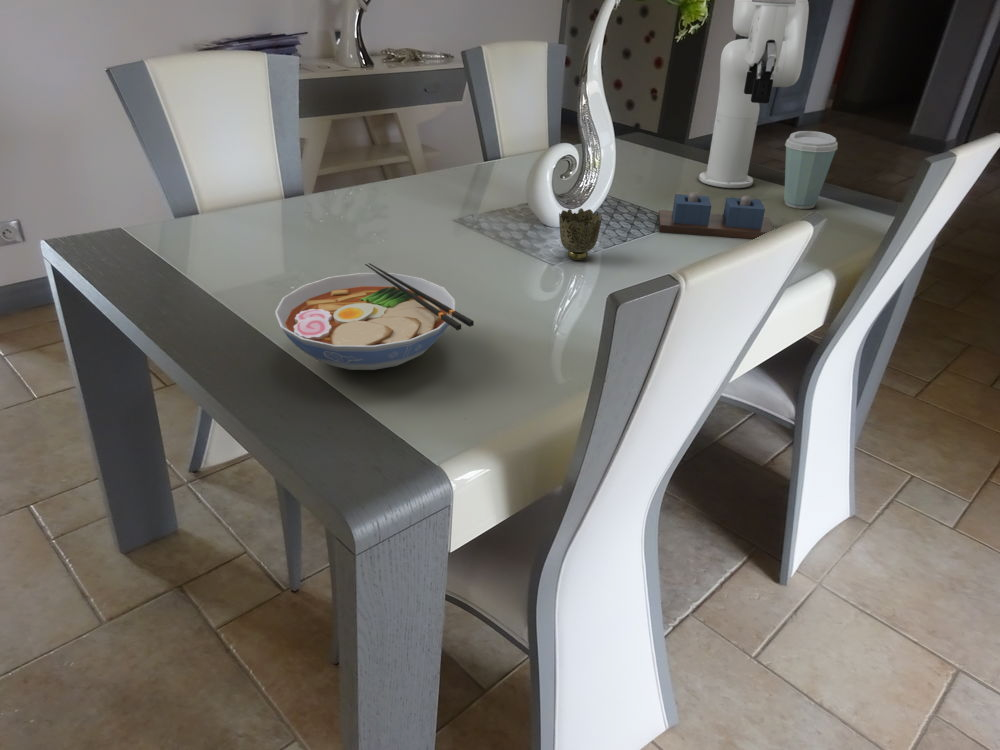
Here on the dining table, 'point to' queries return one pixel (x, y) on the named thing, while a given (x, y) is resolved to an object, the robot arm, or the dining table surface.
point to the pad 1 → (691, 210)
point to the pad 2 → (743, 214)
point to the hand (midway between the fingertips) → (755, 98)
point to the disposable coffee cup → (807, 167)
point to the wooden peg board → (712, 224)
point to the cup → (579, 232)
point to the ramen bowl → (367, 318)
